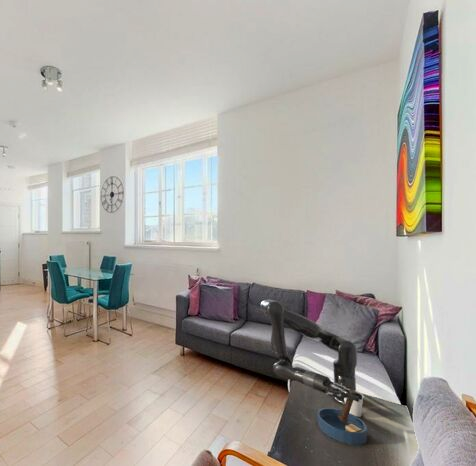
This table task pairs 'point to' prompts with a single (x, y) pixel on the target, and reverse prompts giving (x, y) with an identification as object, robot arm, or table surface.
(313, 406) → the table surface
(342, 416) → the cylinder
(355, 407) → the dixie cup
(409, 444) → the table surface
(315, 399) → the table surface
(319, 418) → the bowl
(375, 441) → the table surface
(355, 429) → the wooden block
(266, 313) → the robot arm
